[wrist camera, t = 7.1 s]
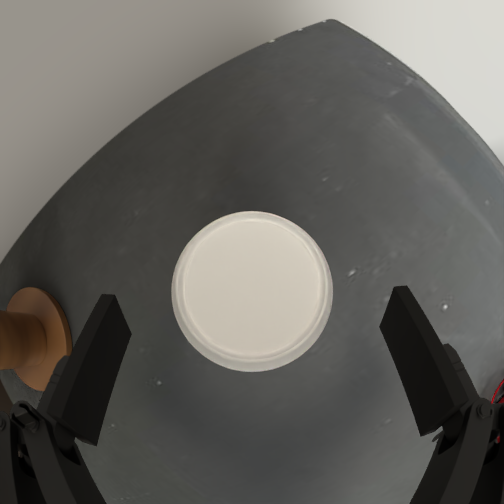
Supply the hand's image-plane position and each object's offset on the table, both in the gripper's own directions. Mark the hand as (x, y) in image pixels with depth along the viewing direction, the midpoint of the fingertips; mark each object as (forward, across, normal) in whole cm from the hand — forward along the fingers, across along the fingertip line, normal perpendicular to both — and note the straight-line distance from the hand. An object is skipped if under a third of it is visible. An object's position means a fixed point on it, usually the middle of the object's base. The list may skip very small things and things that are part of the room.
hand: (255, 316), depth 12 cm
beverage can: (+7, 0, -5) cm, 8 cm away
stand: (+3, -21, -8) cm, 23 cm away
